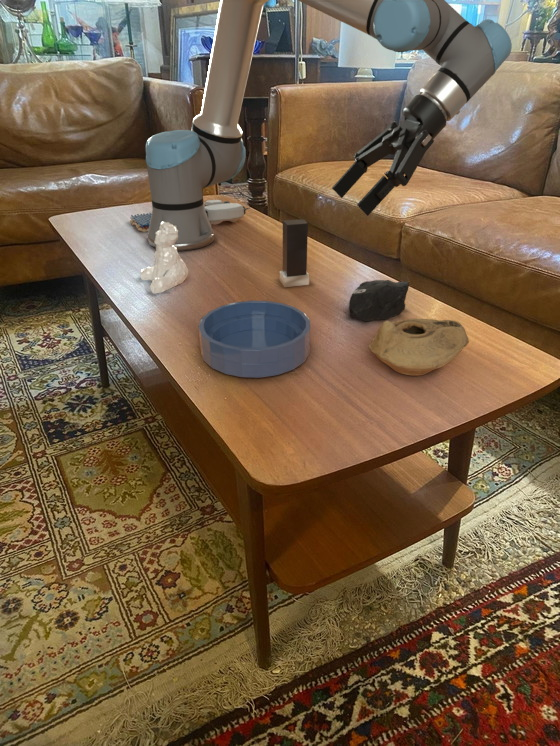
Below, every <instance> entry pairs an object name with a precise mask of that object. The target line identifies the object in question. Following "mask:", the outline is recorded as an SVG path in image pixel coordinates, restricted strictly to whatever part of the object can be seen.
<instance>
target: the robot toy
mask: <svg viewBox="0 0 560 746" xmlns="http://www.w3.org/2000/svg"><path fill="white" fill-rule="evenodd" d="M203 204H204V209H205V211H206V214H207V216H208V219H209V221H210V224H211V225H219V224H220V225H221V223H222V222H226V221H228V222H230V223H236V222H238V221H239V219H242V218H243V217H244V216H245V214H246V212H247V210H250V209H251V206H249V207H245V206H244V205H243V204H241V203H237V202H230V201H229V200H225V201H222V200H221V199H209V200H206V201H205V202H203Z"/></svg>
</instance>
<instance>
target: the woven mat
mask: <svg viewBox="0 0 560 746" xmlns="http://www.w3.org/2000/svg"><path fill="white" fill-rule="evenodd" d="M151 215H152V212H149V213H148V212H147V213H143V214H142V213H141V214H139V213H137V214H134V215H133V214H131V215H130V217H129V219H130V220H129V223H130V224H131V225H132V226H135V227H136V229H137V231H140V232H143V233H144V232H145V233H146V232H148V230H149V225H150V220H151Z"/></svg>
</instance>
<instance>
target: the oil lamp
mask: <svg viewBox="0 0 560 746" xmlns="http://www.w3.org/2000/svg"><path fill="white" fill-rule="evenodd" d="M469 343H470V340H469V337H468V334H467V332H466V329H465V327H464V326H463V325H462V323H461V322H459V321H457V320H452V319H442V320H439V319H432V318H429V319H427V318H408V319H407V318H405V319H399V320H395V321H391V320H385V321H383V322H382V323H381V325H380V326H379V328H378V330H377V333H376V334H375V335H374V336H373V338H372V340H371V343H370V344H368V349H369V350H370V351H371V352H372V353H373V354H374V355H375V356H376V357H377V359H379V360H380V361H381V362H382V363H383V364H385V365H387V366H388V367H390V368H391V369H392V370H393V371H395V372H396V373H399V374H401V375H406V376H424V375H426V374H428V373H431V372H432V371H434V370H438V369H440V368H442V367H444V366H446V365H447V364H449V363H450V362H451V361H453V360H454V359H455V358H456V357H457V356H458V355H459V354H460V353H461V352H462V351H463V350H464V349H465V347H467V345H468V344H469Z"/></svg>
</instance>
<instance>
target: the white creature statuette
mask: <svg viewBox="0 0 560 746" xmlns="http://www.w3.org/2000/svg"><path fill="white" fill-rule="evenodd" d="M159 228H160V229H159V231H157V232H156V236H155V237H156V238H155V241H154V243H155V244H157V245H156V246H157V247H156V248H155V251H154V255H153V257H154V265H153V266H147V267H145V268H143V269H141V270H140V277H141V279H140V280H141V281H150V282H151V283H150V285H149V287H150V291H151V293H152V294H154V295H156V294H161V293H164V292H165V291H168V290H171V289H173V288H175V287H177V286H179V285H181V284H183V283H184V281H185V280H186V279H187V278H188V274H189V268H188V266H187V265H186V263H185V261H184V260H183V258H181V256H180V254H179V251H177V249H176V247H175V246H174V244H175V242H176V241H177V240H178V230H177V229H176V227H175V226H173V225H172V224H170V223H169V222H167V223H166V222H164V221H162V222H161V223H160V227H159Z"/></svg>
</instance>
